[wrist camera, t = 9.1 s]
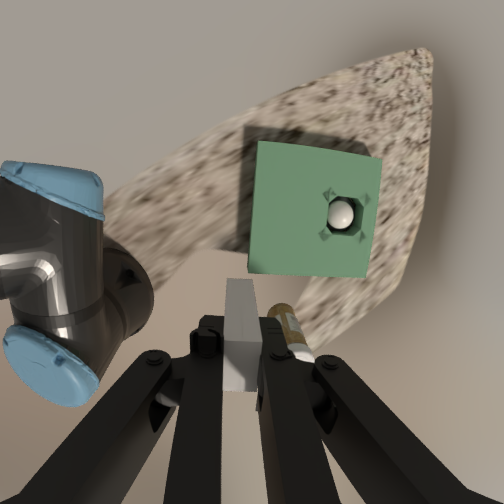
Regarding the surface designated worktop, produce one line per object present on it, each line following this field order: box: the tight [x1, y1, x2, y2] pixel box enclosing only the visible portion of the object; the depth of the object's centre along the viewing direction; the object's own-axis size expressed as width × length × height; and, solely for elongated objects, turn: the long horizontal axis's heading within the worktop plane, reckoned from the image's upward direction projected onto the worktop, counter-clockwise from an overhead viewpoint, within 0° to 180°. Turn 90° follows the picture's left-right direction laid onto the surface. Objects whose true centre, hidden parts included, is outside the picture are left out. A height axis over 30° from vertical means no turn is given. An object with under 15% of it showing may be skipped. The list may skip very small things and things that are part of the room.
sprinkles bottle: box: [267, 303, 314, 363], centre depth 38 cm, size 5×5×13 cm
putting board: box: [247, 141, 382, 278], centre depth 39 cm, size 18×18×3 cm
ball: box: [327, 201, 353, 229], centre depth 38 cm, size 4×4×4 cm
